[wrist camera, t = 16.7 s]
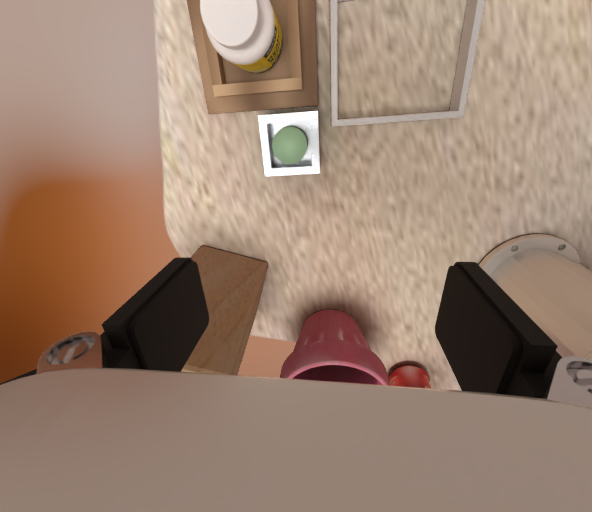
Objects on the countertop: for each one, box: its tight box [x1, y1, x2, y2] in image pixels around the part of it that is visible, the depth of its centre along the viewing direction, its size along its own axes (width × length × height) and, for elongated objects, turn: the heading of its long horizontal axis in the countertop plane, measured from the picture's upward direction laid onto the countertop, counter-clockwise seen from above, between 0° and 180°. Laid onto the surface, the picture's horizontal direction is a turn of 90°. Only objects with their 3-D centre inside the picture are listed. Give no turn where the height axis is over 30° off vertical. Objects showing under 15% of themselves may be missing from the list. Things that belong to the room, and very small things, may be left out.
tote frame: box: [330, 0, 485, 127], centre depth 27 cm, size 13×11×2 cm
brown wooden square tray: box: [187, 0, 318, 114], centre depth 27 cm, size 12×12×3 cm
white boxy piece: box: [258, 111, 320, 176], centre depth 31 cm, size 6×6×4 cm
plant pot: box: [280, 309, 390, 386], centre depth 40 cm, size 14×14×13 cm
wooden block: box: [181, 246, 268, 375], centre depth 34 cm, size 10×10×20 cm
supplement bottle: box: [200, 0, 283, 74], centre depth 23 cm, size 5×5×10 cm
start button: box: [272, 125, 308, 164], centre depth 30 cm, size 4×4×2 cm
